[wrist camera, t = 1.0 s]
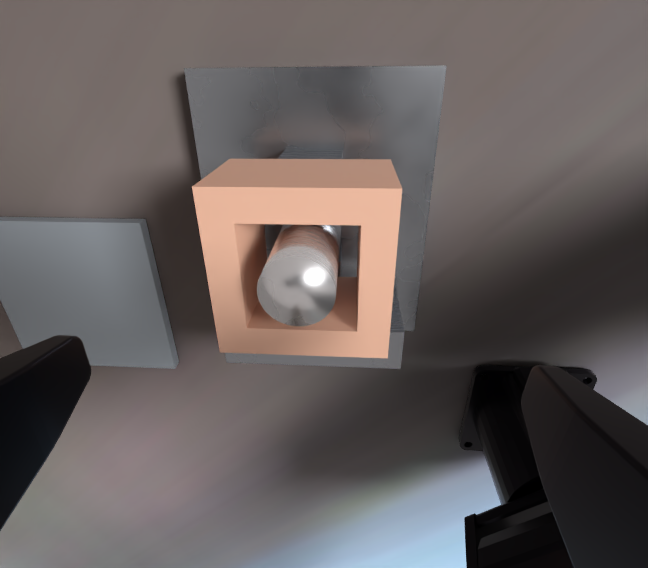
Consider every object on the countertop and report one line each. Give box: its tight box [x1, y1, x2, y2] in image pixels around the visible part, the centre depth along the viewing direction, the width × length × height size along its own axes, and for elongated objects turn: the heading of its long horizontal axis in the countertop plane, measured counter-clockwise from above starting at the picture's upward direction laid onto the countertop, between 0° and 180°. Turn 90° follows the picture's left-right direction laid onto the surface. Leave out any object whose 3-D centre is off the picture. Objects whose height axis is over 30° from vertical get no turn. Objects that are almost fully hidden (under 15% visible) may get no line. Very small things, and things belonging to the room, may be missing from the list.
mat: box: [0, 217, 179, 369], centre depth 22 cm, size 9×9×1 cm
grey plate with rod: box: [184, 66, 446, 369], centre depth 15 cm, size 12×10×8 cm
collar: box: [192, 159, 402, 358], centre depth 14 cm, size 6×6×4 cm
